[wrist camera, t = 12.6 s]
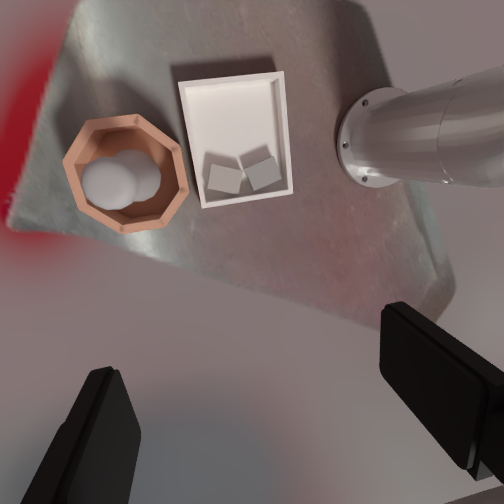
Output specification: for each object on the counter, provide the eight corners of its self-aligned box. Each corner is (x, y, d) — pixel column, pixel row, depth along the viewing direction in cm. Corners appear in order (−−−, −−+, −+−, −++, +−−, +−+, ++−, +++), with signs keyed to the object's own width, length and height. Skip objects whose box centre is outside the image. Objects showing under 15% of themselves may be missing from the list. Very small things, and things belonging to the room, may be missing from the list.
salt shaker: (114, 144, 33) (66, 137, 21) (165, 155, 34) (148, 154, 22) (111, 194, 34) (64, 214, 22) (160, 202, 36) (140, 226, 24)
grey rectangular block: (270, 156, 37) (273, 156, 36) (278, 177, 38) (282, 178, 37) (243, 168, 37) (245, 168, 35) (251, 189, 38) (254, 191, 37)
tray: (278, 76, 34) (283, 71, 32) (288, 191, 39) (293, 193, 37) (179, 86, 33) (177, 82, 31) (201, 205, 38) (202, 208, 36)
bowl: (176, 115, 34) (172, 109, 29) (195, 214, 38) (195, 221, 33) (69, 128, 32) (49, 124, 28) (102, 229, 36) (88, 239, 32)
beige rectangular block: (241, 170, 37) (243, 171, 35) (236, 193, 38) (238, 194, 36) (210, 163, 36) (211, 163, 35) (206, 187, 37) (207, 188, 35)
